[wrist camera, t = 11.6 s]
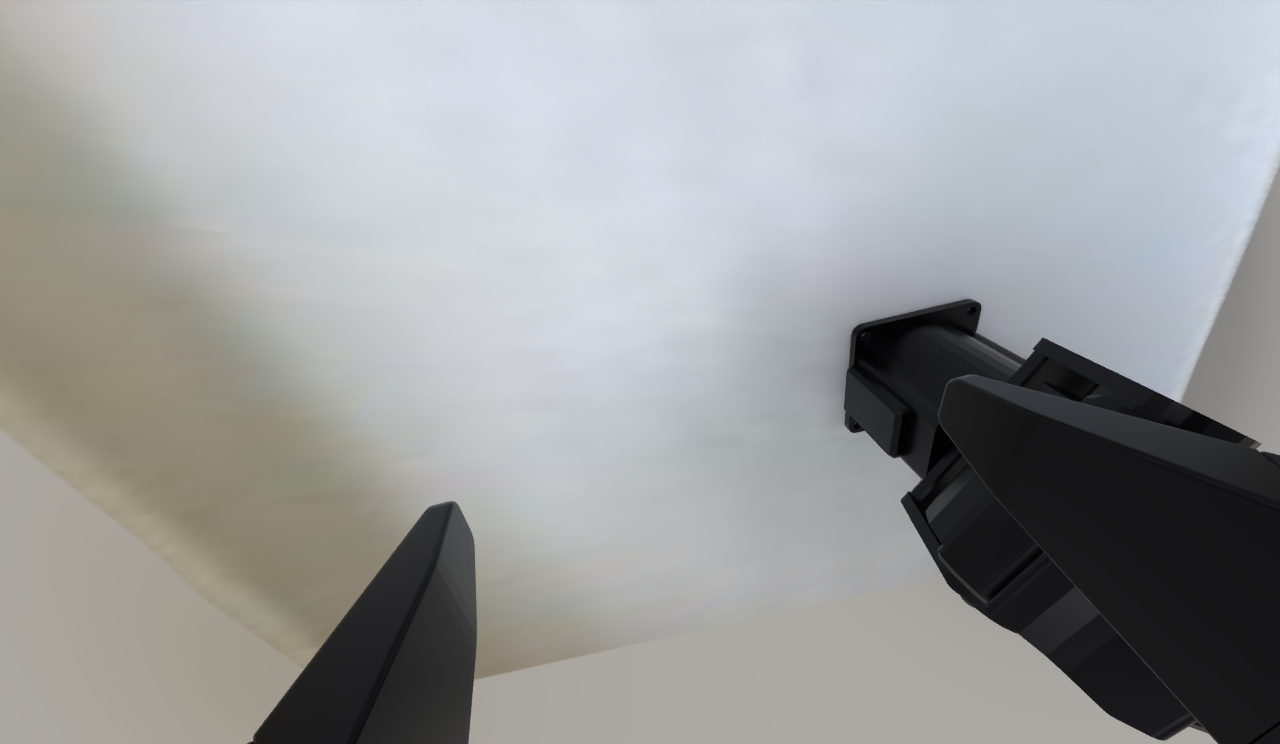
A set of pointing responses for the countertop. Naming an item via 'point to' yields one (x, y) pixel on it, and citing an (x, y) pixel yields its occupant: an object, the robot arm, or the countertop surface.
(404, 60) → the countertop surface
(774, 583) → the countertop surface
